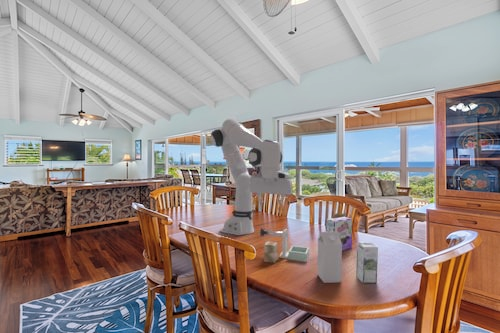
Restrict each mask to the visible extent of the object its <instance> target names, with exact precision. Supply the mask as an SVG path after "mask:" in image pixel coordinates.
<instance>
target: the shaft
mask: <svg viewBox="0 0 500 333" xmlns="http://www.w3.org/2000/svg"><path fill="white" fill-rule="evenodd" d="M259 234H260V236H261V237H265V236H276V237H282V234H283V231H274V230H273V231H272V230H266V229H265V228H264V227H262V228H261V229H260V233H259ZM287 235H288V236H289V234H287V233H286V237H287Z"/></svg>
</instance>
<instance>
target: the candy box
mask: <svg viewBox="0 0 500 333" xmlns="http://www.w3.org/2000/svg"><path fill="white" fill-rule="evenodd" d="M325 226H326V227H325V232H338V235H339V237H340V240H341V243H342V251H346V250H350V249H351V250H352V248H353V218H351V217H347V216H346V217H340V218H326V223H325Z"/></svg>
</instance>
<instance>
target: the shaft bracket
mask: <svg viewBox="0 0 500 333" xmlns="http://www.w3.org/2000/svg"><path fill="white" fill-rule="evenodd" d="M282 232H283V234H282V236H281V237H282V238H281V239H282V246H281V248H282V250H281V252H280V254H279V256H278V257H279V258H281V259H288V260H290V261H296V262H305V263H307V262H308V259H309V258H310V247H308V246H306V247H304V246H299V245H291V247H290V248H289V249H288V244H289V243H288V240H289V239H288V236H289V234H288V233H289V231H288V229H287V228H283V230H282ZM286 233H287V234H288V235H287V237H286Z"/></svg>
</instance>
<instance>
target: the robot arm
mask: <svg viewBox="0 0 500 333" xmlns="http://www.w3.org/2000/svg"><path fill="white" fill-rule="evenodd" d="M210 140H211V142H212V144H213V145H214V146H215V147H217V148H218V147H221V150H222V153H223V157H224V159H225V161H226V164H227V167H228V168H229V171H230V174H231V176H232V178H233V181H234V183H235V198H234V199H235V200H234V201H235V202H234V207H235V208H234V210H233V211H231V214H232V216H230V217H229V218H228V219H226V220H225V221H224V223H223V227H222V228H220V229H219V230H220V233H225V234H229V235H230V234H231V235H236V236H241V235H242V236H243V235H249V234H253V233H254V232H255V229H254V225H253V224H254V223H253V217H254V216H253V215H254V213H253V194H256V196H257V198H258V200H259V202H258V203H260V204H263V203H264V198H262V196H261V195H262V194H265V195H266V194H267V195H280V197H281V199H279V200H278V205H283V202H284V201H283V200H284V199H285V198H286V196H290V195H292V194H293V192H294V190H293V181H292V180H291V179H290V178H291V173H289V172H286V171H283V170H281V163H282V161H283V153H282V152H281V146H280V143H279V141H277V140H274V139H272V140H271V139H264V140H263V139H262V138H261V137H258V135H256V134H254V133H253V132H251V131H250V130H248V129H247V128H246V127H245V126H244V125H243V123H241V121H237V120H236V119H233V118H227V119H226V120H224V121H223V123H222V126H221V127H220V128H218V129H214V130H213V131H212V132H211V133H210ZM239 147H247V148H251V149H250V151H248V155H247V158H248V162H249V165H250V166H252V167H255V168H257V167H261V173H253V174H251V175H250V174H249V170H248V168H247V165H246V162H245V159H244V157H243V155H242V152H241V149H240V148H239Z"/></svg>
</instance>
